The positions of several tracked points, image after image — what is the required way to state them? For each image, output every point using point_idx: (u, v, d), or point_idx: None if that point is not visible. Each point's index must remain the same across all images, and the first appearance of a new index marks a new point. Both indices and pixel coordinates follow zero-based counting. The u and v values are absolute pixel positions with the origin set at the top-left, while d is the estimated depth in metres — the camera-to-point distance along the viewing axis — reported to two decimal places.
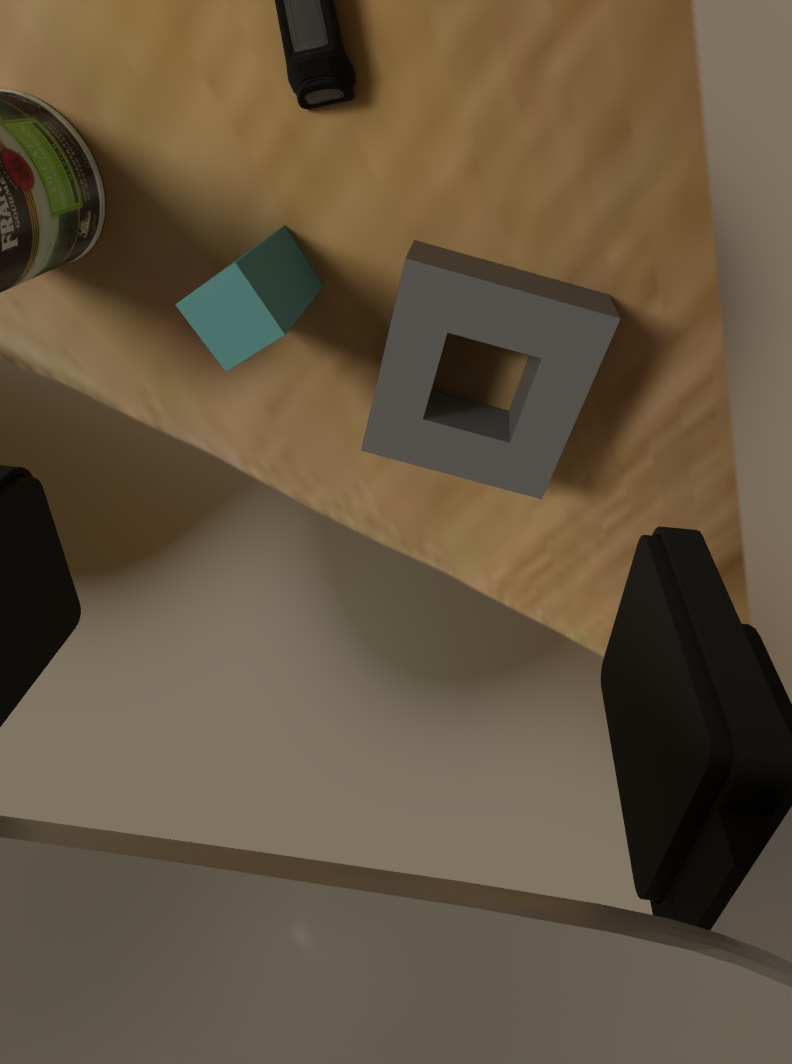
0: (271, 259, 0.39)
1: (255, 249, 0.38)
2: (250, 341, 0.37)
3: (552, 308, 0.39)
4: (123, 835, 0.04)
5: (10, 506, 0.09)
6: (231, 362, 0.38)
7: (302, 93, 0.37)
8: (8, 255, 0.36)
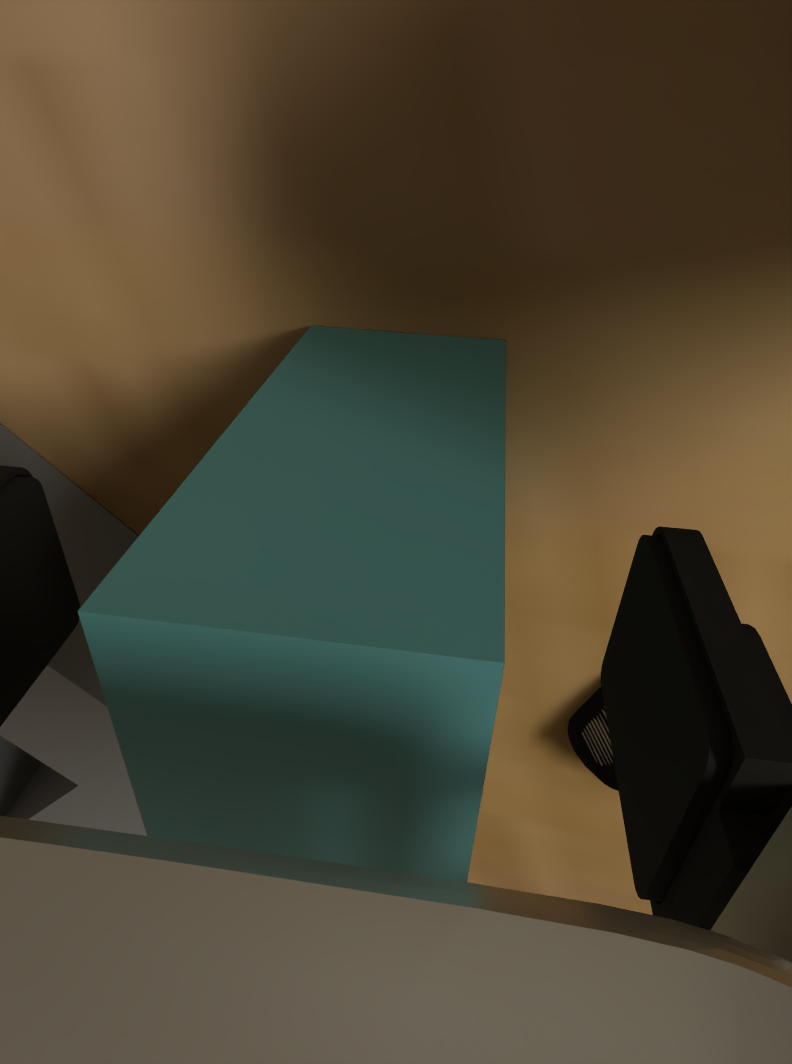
0: None
1: None
2: (176, 768, 0.08)
3: None
4: (123, 835, 0.04)
5: (10, 506, 0.09)
6: (114, 659, 0.07)
7: None
8: None
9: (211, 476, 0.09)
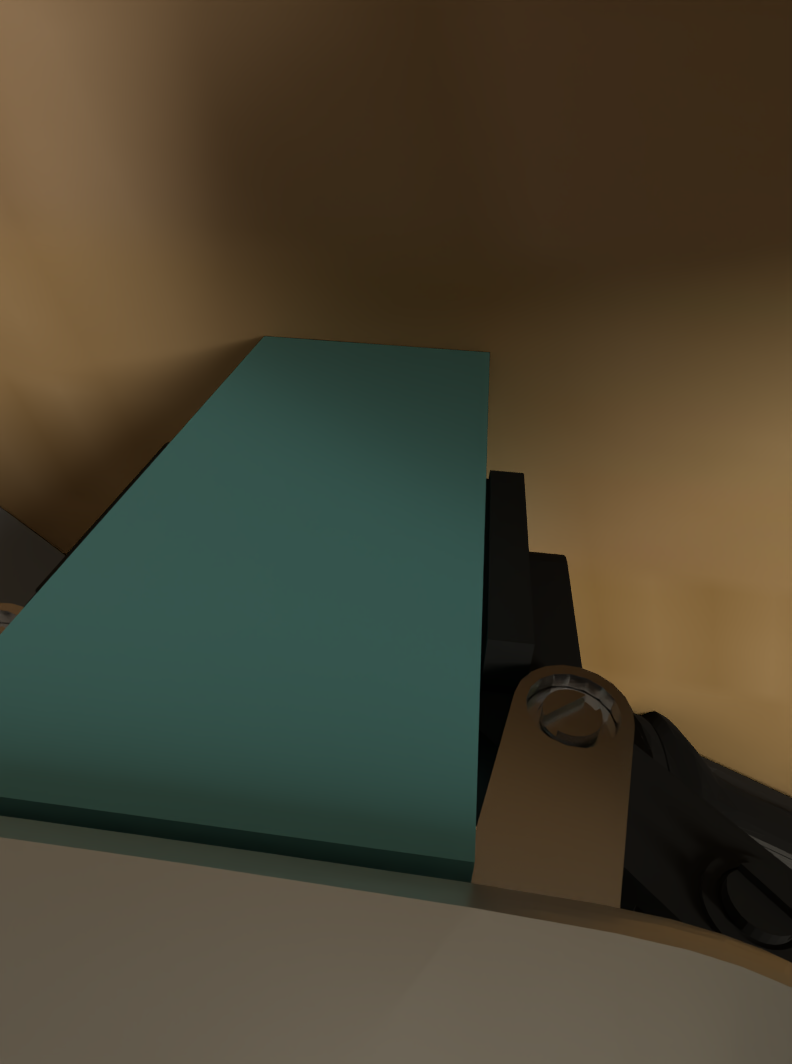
0: None
1: None
2: None
3: None
4: (122, 835, 0.04)
5: None
6: None
7: None
8: None
9: (107, 547, 0.07)
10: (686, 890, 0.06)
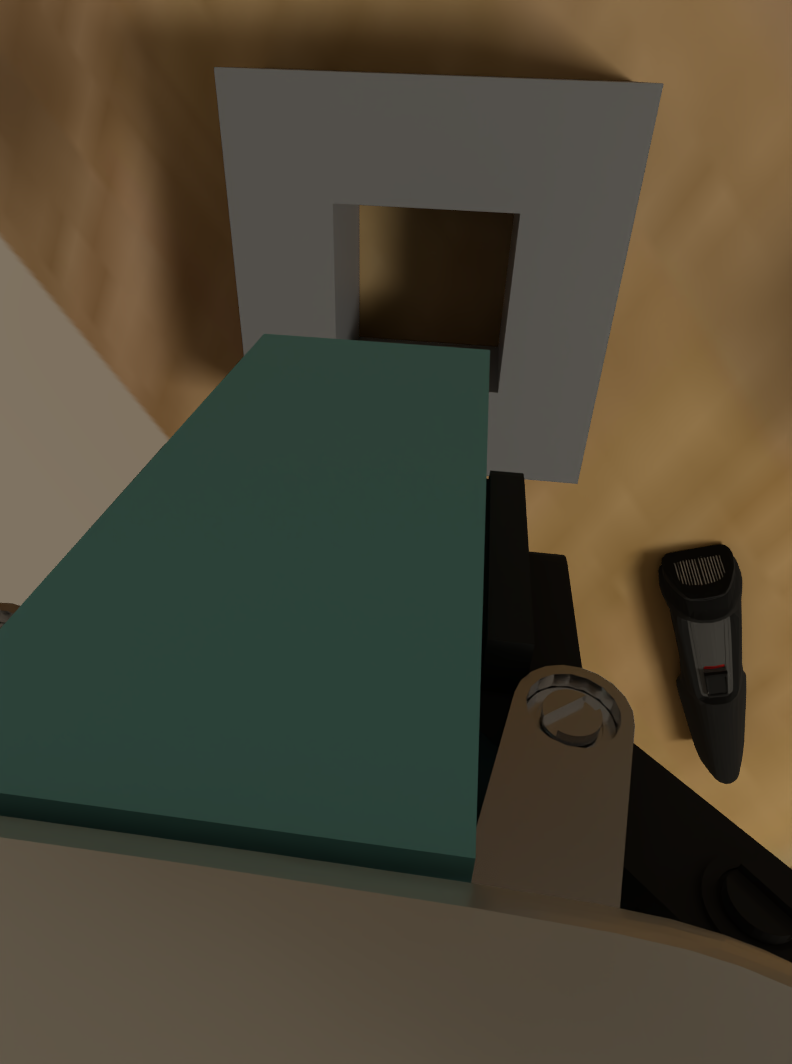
0: None
1: None
2: None
3: None
4: (123, 835, 0.04)
5: None
6: None
7: (727, 582, 0.31)
8: None
9: (106, 543, 0.07)
10: (686, 890, 0.06)
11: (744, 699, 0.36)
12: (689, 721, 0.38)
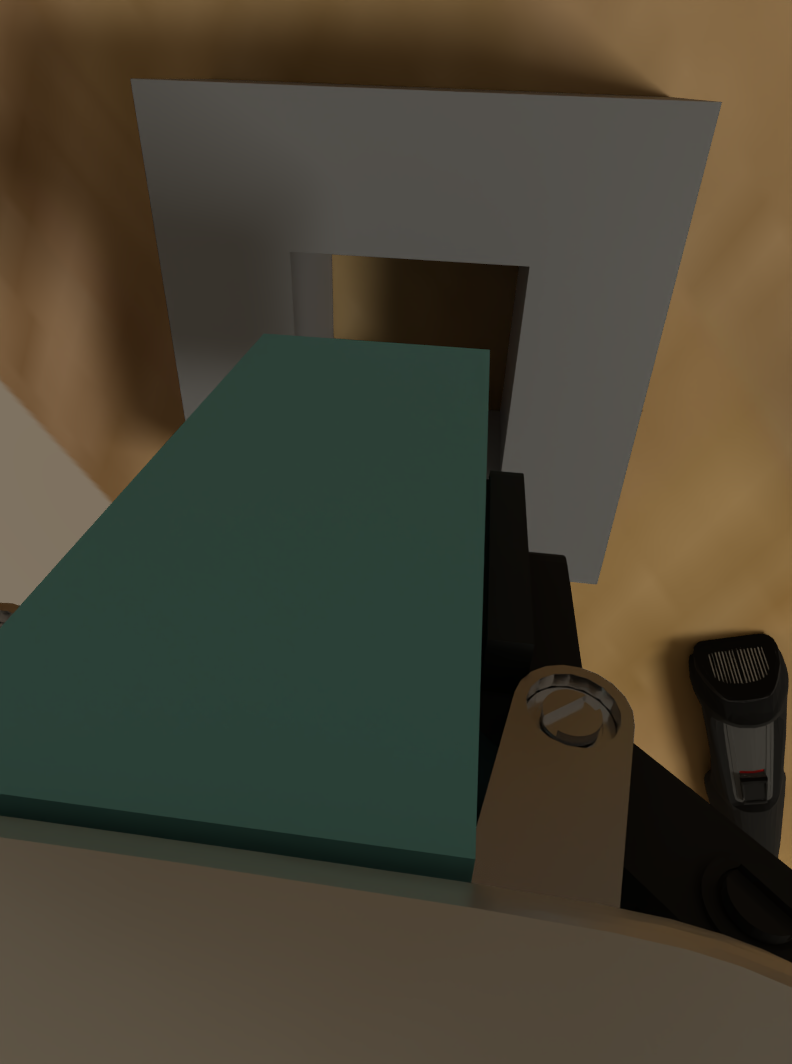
0: None
1: None
2: None
3: None
4: (122, 835, 0.04)
5: None
6: None
7: (772, 682, 0.27)
8: None
9: (105, 543, 0.07)
10: (686, 889, 0.06)
11: (783, 802, 0.32)
12: None
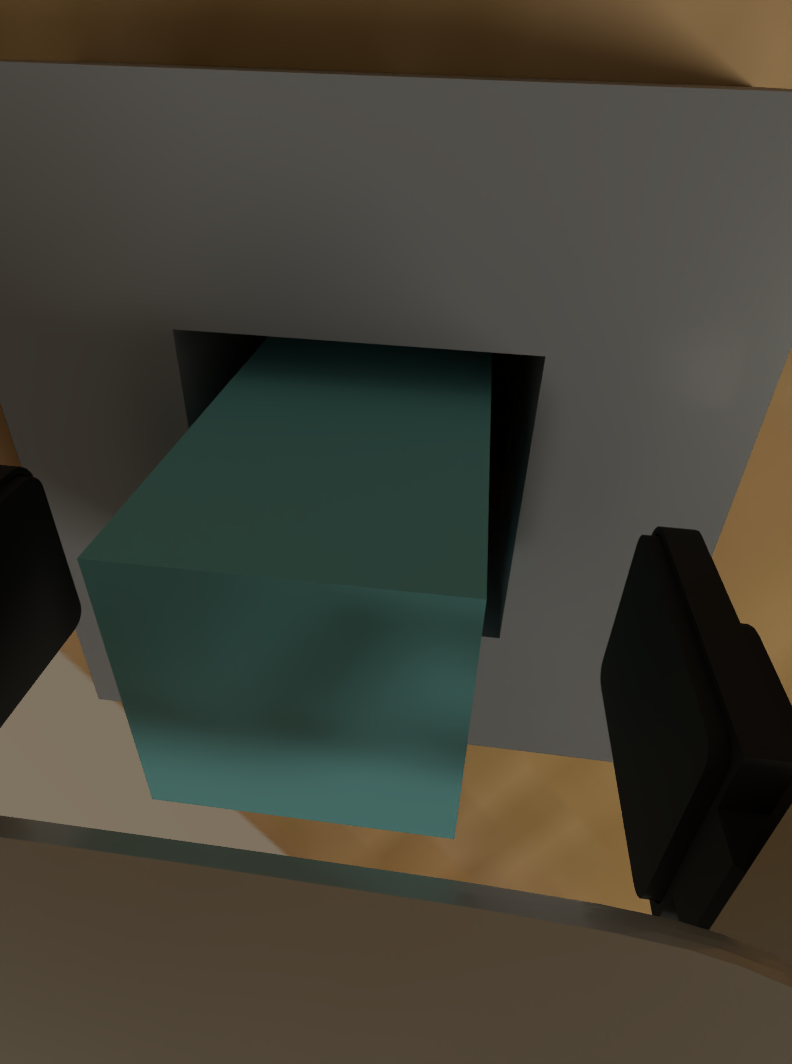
0: None
1: None
2: (174, 716, 0.09)
3: None
4: (123, 835, 0.04)
5: (11, 506, 0.09)
6: (113, 605, 0.08)
7: None
8: None
9: (204, 437, 0.10)
10: None
11: None
12: None
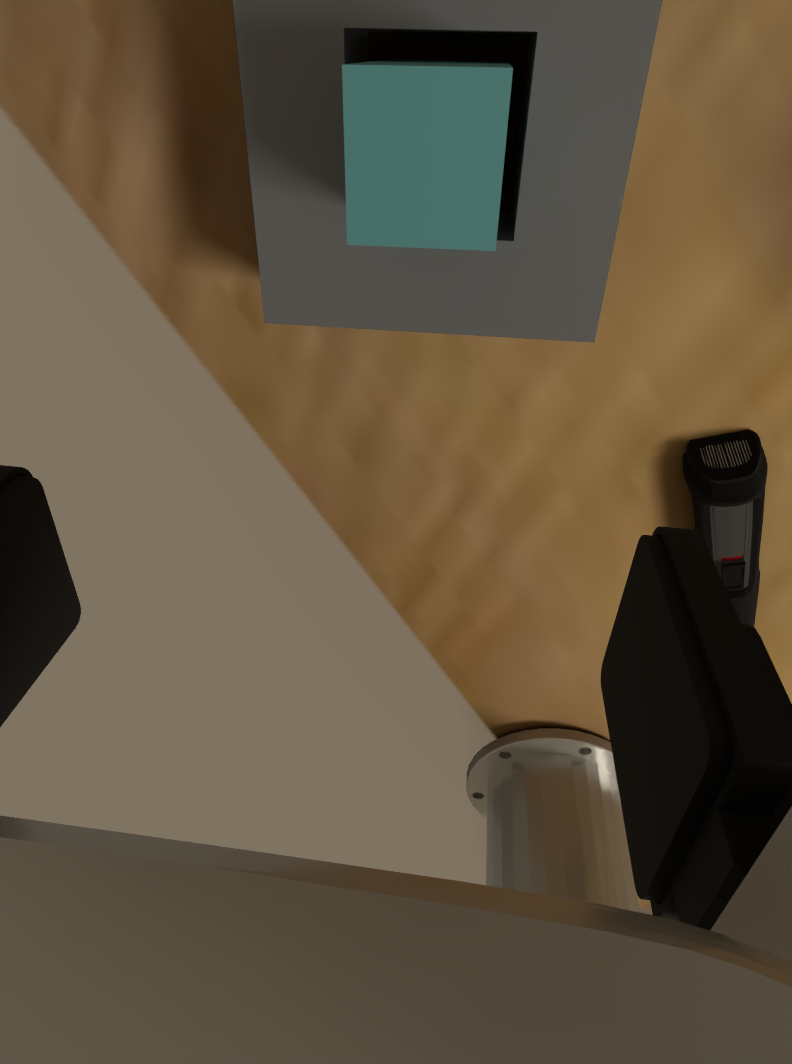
0: None
1: None
2: (368, 171, 0.19)
3: (361, 316, 0.26)
4: (123, 835, 0.04)
5: (10, 506, 0.09)
6: (352, 93, 0.18)
7: (754, 464, 0.31)
8: None
9: (371, 62, 0.20)
10: None
11: (756, 597, 0.37)
12: None
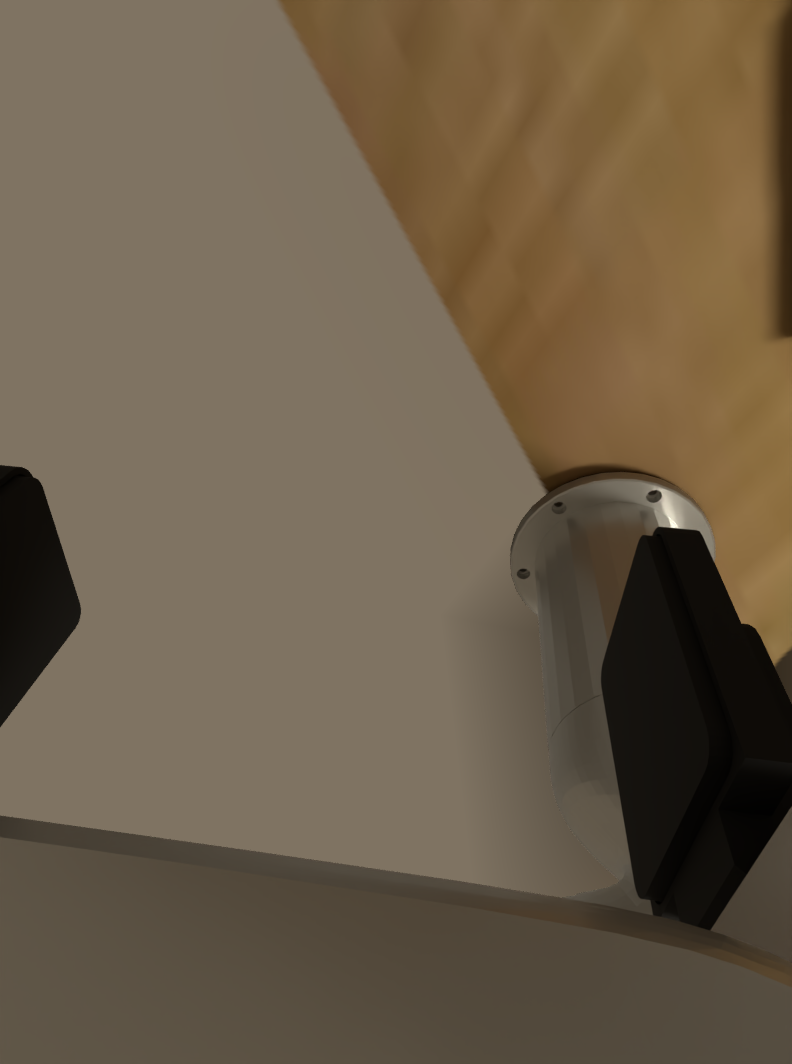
0: None
1: None
2: None
3: None
4: (123, 835, 0.04)
5: (10, 506, 0.09)
6: None
7: None
8: None
9: None
10: None
11: None
12: None
